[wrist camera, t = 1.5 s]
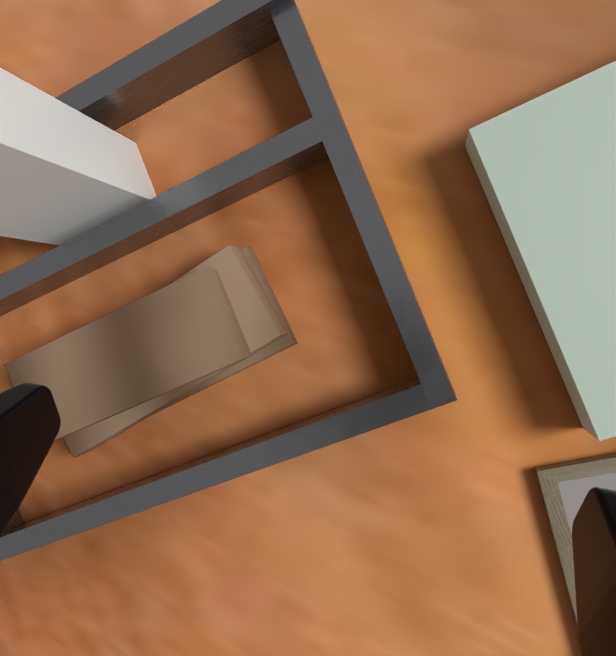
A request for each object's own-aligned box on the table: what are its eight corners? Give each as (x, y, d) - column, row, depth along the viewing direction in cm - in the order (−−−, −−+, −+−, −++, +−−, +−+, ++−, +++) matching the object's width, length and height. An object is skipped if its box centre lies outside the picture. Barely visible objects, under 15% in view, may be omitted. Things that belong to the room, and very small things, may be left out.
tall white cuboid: (71, 247, 25) (-156, 211, 15) (49, 189, 25) (-190, 117, 15) (159, 203, 24) (-25, 134, 14) (135, 142, 24) (-63, 32, 14)
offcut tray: (14, 547, 26) (-27, 572, 24) (-103, 228, 27) (-155, 220, 25) (454, 391, 21) (457, 402, 19) (295, 3, 22) (279, -34, 20)
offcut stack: (89, 452, 26) (35, 475, 22) (48, 361, 26) (-11, 369, 23) (303, 347, 23) (280, 355, 20) (254, 247, 23) (224, 237, 20)
